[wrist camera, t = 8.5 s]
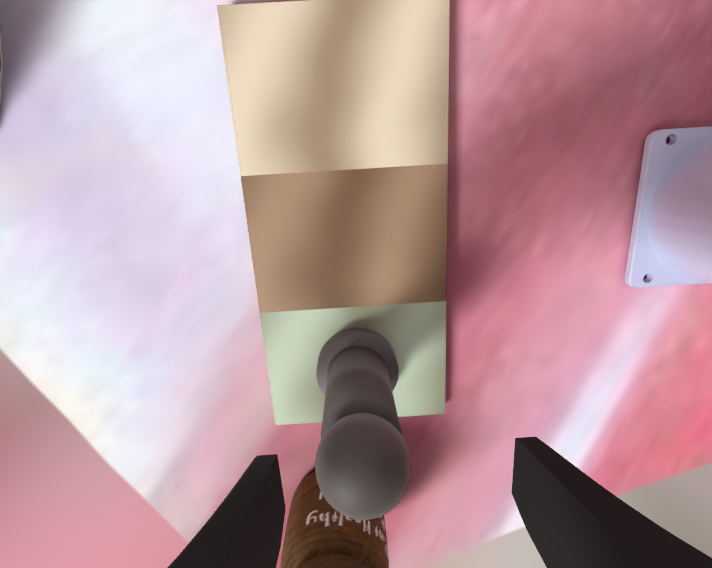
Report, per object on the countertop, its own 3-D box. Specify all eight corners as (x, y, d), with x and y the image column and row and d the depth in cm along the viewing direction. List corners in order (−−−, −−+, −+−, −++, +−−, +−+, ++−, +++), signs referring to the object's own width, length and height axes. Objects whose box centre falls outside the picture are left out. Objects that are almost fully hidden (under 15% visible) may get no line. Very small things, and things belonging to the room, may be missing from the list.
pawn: (396, 397, 20) (433, 553, 12) (320, 401, 20) (300, 560, 12) (395, 326, 19) (435, 440, 10) (314, 330, 19) (288, 449, 10)
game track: (444, 1, 16) (449, -8, 15) (441, 405, 21) (445, 413, 21) (223, 14, 16) (217, 5, 15) (278, 416, 21) (275, 425, 21)
